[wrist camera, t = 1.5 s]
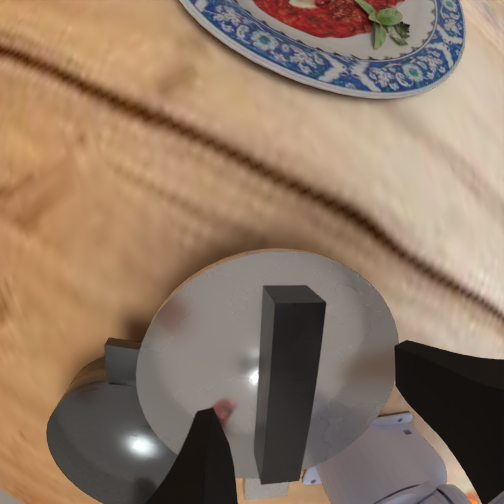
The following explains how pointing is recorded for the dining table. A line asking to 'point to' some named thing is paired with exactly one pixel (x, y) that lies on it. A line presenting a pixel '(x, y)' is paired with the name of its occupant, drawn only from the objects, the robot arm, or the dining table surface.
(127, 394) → the cooker body
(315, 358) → the cooker lid
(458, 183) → the dining table surface
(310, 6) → the ceramic plate
